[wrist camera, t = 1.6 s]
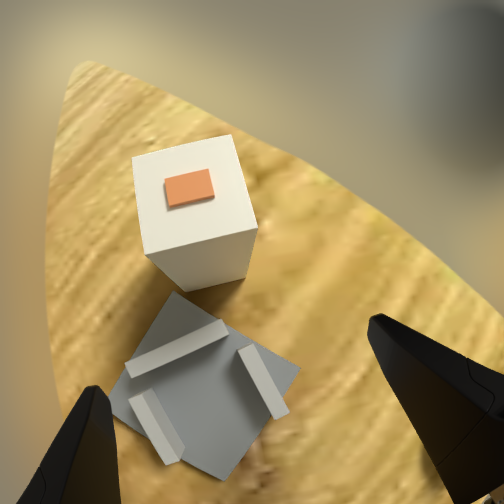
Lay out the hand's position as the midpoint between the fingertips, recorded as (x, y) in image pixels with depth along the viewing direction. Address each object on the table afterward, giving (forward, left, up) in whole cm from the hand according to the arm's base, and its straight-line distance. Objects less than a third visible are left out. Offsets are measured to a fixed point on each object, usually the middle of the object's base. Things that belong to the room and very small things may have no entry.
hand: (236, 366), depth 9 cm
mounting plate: (-4, 0, -13) cm, 13 cm away
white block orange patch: (+5, +5, -13) cm, 14 cm away
